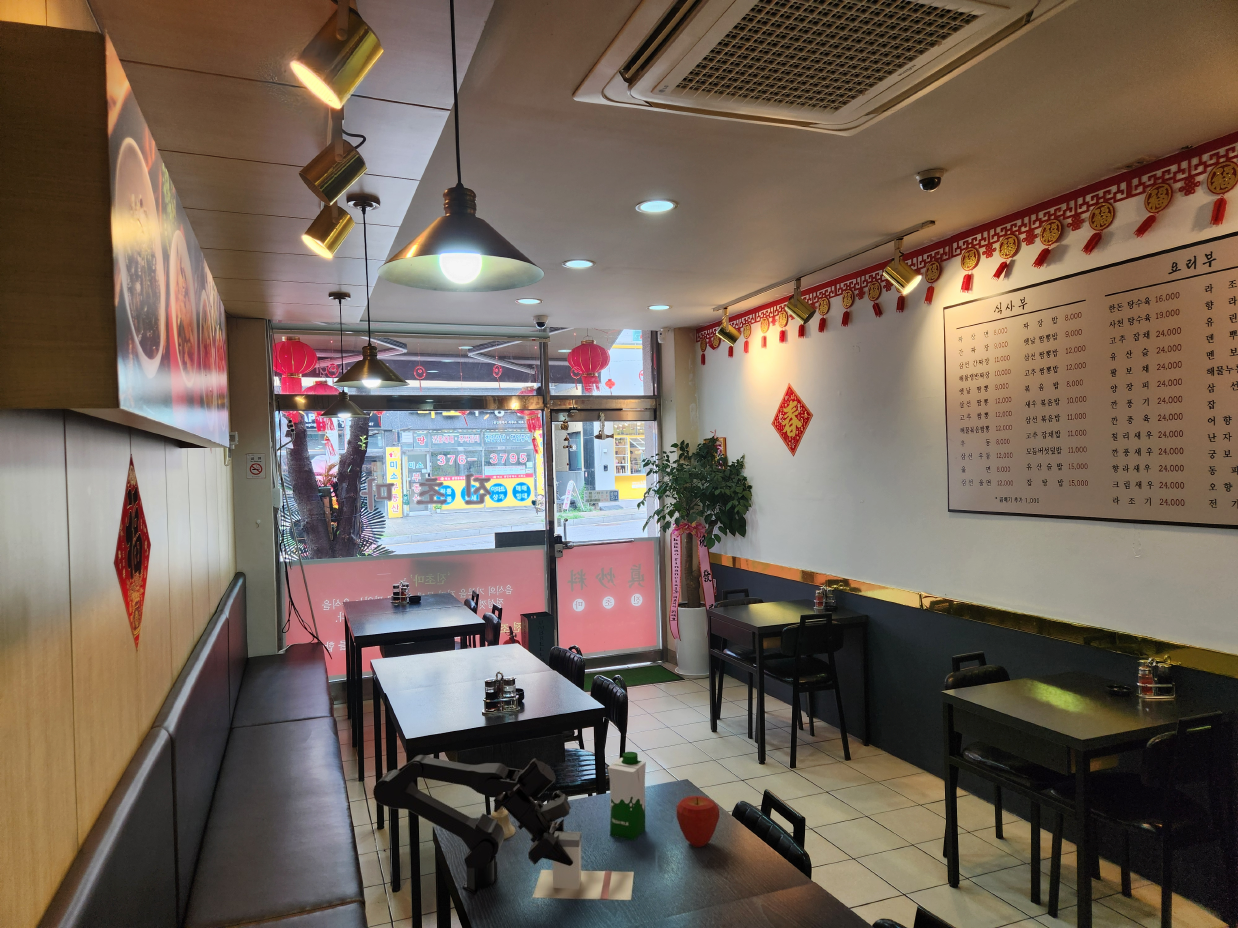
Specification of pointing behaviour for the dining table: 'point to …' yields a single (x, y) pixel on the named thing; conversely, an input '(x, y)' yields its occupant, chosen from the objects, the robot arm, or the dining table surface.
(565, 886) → the white slab
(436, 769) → the robot arm
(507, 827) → the hand bell
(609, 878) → the board
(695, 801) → the apple
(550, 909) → the dining table surface
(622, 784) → the milk carton
